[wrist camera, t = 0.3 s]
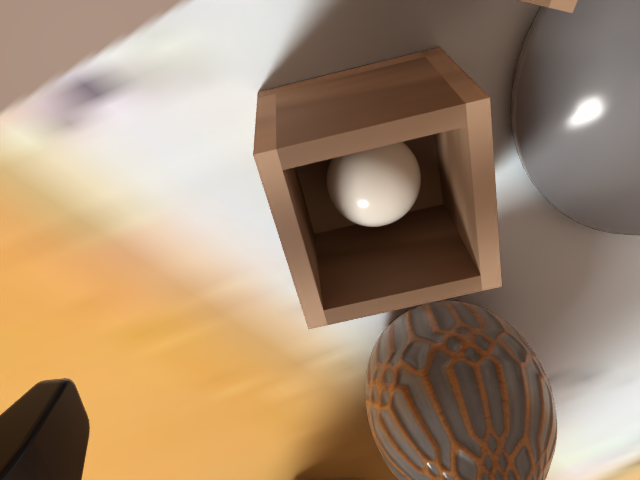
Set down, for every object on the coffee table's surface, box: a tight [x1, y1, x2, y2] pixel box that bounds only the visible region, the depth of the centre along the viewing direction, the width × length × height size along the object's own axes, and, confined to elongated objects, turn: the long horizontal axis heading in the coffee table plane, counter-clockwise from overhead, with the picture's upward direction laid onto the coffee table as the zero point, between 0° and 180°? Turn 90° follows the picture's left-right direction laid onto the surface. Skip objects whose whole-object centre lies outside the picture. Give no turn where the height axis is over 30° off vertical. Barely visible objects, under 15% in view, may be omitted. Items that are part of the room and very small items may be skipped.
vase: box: [365, 301, 557, 480], centre depth 21 cm, size 7×7×9 cm
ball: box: [326, 142, 421, 227], centre depth 18 cm, size 3×3×3 cm
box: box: [253, 47, 502, 329], centre depth 18 cm, size 6×6×5 cm
